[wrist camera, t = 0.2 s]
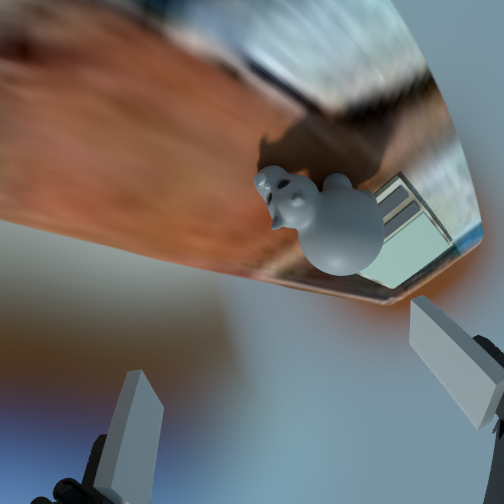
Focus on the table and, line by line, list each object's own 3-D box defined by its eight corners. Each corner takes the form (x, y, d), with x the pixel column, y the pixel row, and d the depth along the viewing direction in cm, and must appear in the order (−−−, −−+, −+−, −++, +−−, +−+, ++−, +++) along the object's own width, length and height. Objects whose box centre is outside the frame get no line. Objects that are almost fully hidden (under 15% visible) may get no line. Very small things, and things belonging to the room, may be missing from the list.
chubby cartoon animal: (284, 119, 24) (285, 158, 18) (385, 195, 28) (413, 252, 21) (238, 181, 28) (223, 237, 22) (337, 243, 32) (348, 305, 25)
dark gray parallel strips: (317, 253, 35) (318, 254, 35) (399, 185, 29) (400, 186, 29) (347, 266, 39) (347, 267, 39) (420, 208, 33) (420, 209, 33)
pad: (351, 267, 40) (351, 269, 40) (422, 211, 34) (423, 212, 34) (393, 287, 49) (394, 288, 49) (449, 245, 43) (450, 246, 43)
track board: (307, 250, 35) (309, 253, 35) (397, 174, 29) (399, 177, 28) (391, 286, 50) (392, 289, 50) (450, 242, 44) (452, 244, 43)
